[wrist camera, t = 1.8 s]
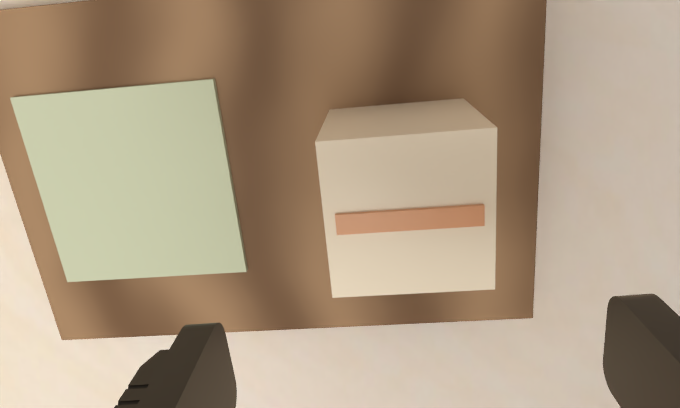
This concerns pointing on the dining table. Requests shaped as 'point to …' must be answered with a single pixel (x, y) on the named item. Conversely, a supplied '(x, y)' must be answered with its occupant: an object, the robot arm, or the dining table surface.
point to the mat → (135, 180)
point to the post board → (284, 141)
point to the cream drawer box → (409, 198)
